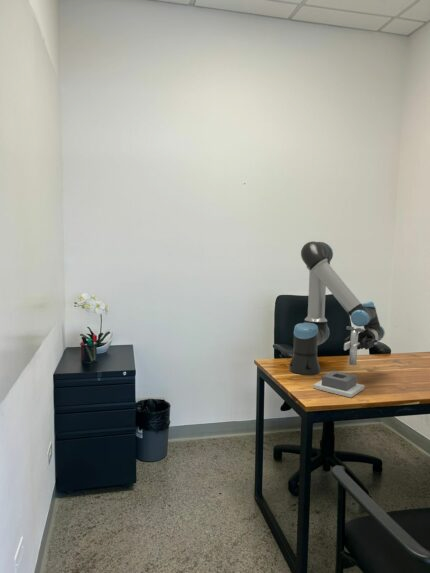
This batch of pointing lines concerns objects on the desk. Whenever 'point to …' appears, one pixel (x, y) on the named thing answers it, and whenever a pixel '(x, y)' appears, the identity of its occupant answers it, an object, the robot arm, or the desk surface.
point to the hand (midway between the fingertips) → (349, 347)
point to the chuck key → (353, 343)
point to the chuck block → (339, 384)
